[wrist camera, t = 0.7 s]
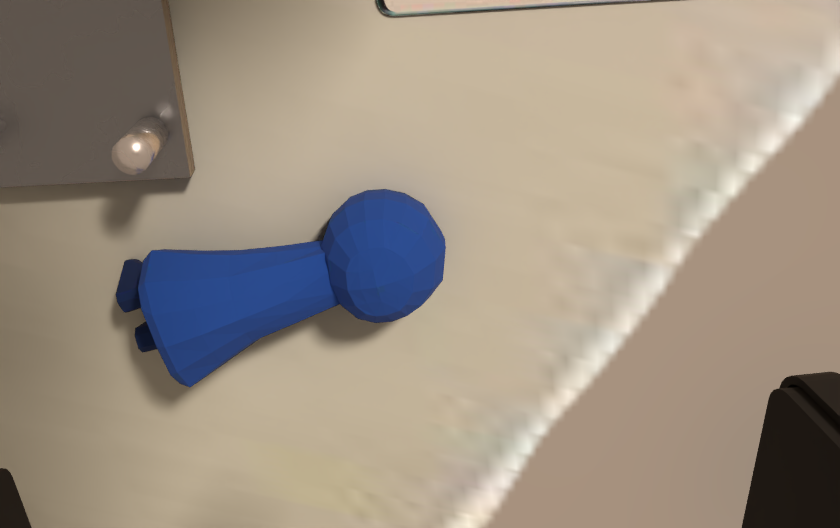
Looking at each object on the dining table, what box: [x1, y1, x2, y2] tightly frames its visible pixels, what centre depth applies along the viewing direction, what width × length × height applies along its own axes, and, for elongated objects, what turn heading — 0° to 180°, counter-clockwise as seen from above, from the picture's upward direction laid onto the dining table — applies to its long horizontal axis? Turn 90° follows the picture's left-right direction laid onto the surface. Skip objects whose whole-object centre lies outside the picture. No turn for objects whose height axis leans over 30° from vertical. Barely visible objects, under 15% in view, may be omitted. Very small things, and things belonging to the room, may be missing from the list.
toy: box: [116, 189, 446, 387], centre depth 33 cm, size 7×6×15 cm
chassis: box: [0, 0, 195, 187], centre depth 27 cm, size 14×10×5 cm
